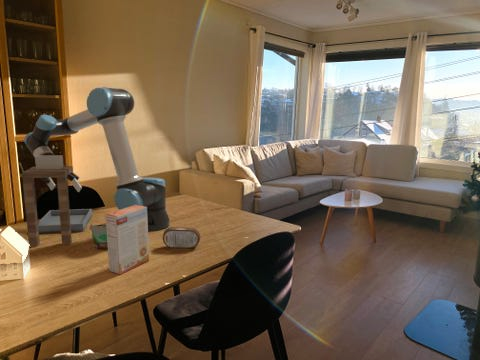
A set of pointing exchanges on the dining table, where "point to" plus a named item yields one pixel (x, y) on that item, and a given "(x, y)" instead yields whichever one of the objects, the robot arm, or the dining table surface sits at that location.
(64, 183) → the shelf stand
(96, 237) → the food container
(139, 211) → the cracker box
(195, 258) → the dining table surface
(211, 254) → the dining table surface
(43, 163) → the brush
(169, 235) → the tin
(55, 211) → the tray
